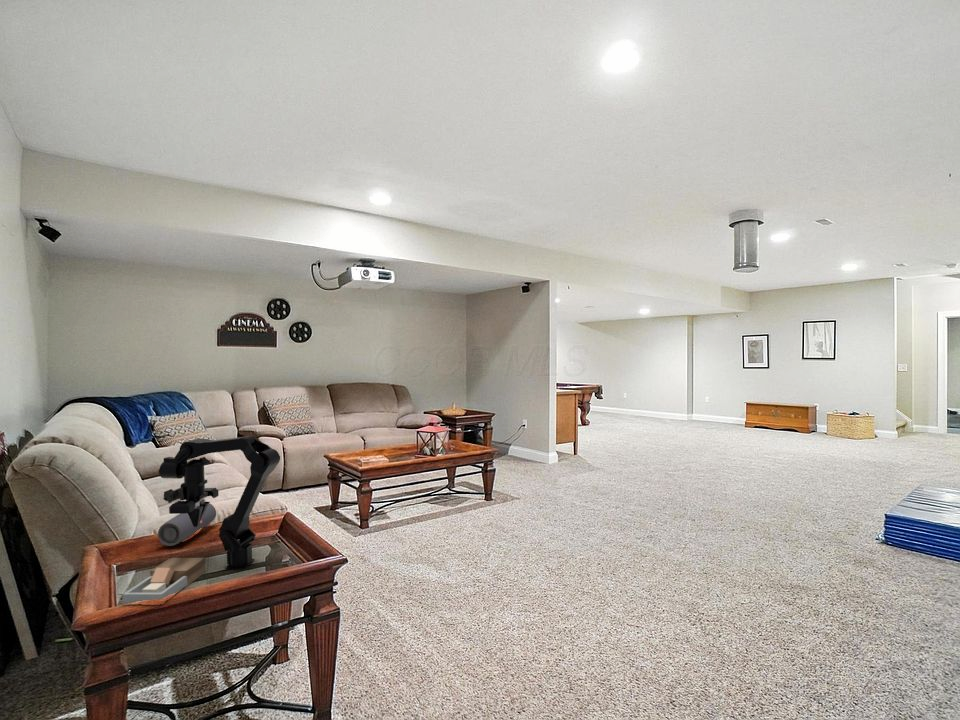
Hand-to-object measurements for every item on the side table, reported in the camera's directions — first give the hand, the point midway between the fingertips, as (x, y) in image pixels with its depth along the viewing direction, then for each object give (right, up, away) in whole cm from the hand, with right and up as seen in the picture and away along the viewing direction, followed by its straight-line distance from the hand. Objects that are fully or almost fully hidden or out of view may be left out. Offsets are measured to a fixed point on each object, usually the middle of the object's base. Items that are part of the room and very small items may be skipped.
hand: (196, 526), depth 162 cm
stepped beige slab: (+1, -12, -11) cm, 16 cm away
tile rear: (0, -10, -17) cm, 19 cm away
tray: (0, -13, -21) cm, 24 cm away
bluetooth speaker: (-16, -12, +24) cm, 31 cm away
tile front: (0, -10, -21) cm, 23 cm away
